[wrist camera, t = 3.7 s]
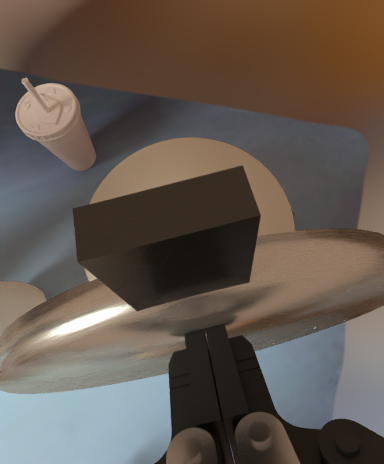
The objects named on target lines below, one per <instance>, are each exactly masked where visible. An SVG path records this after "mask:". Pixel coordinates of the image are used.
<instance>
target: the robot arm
mask: <svg viewBox="0 0 384 464" xmlns="http://www.w3.org/2000/svg"><path fill="white" fill-rule="evenodd" d="M206 335H207V338H206ZM206 335H205V331H204V329H202V330H198V331H194V332H190V333H186V334H185V344H186V349H183V350H179V351H175V352H173V354H172V357H171V359H170V362H169V364H168V367H169V386H170V405H171V424H172V437H171V442H170V444H169V446H168V449H167V451H166V453H165V454H164V455H163V457H162V458H161V459H160V460H159V461H158V462H156V463H155V464H234V462H233V457H232V452H233V455H234V459H235V463H236V464H384V438H383V437H382V436H380V435H378V434H376V433H375V432H373V431H371V430H369V429H368V428H366V427H364V426H362V425H361V424H359V423H357V422H355V421H351V420H347V419H335V420H332V421H330V422H328V423H326V424H325V425H324V426H323V428H322V429H321V430H318V429H307V428H300V427H296V426H293V425H291V424H289V423H288V422H286V421H285V420H283V419H282V418H281V417H280V416H279V414H278V413H277V411H276V410H275V407H274V405H273V402H272V399H271V396H270V394H269V391H268V388H267V385H266V382H265V380H264V377H263V374H262V371H261V369H260V366H259V363H258V360H257V358H256V354H255V352H254V349H253V346H252V344H251V343H250V342H249V341H248V340H247V339H246V338H245V337H244V336H243V335H240V336H236V337H232V338H228V335H227V331H226V327H225V324H222V325H218V326H214V327H210V328H206ZM207 340H208V342H207ZM208 345H209V346H208ZM228 437H229V438H228ZM229 441H230V442H229ZM230 445H231V447H230ZM231 448H232V452H231Z"/></svg>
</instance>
